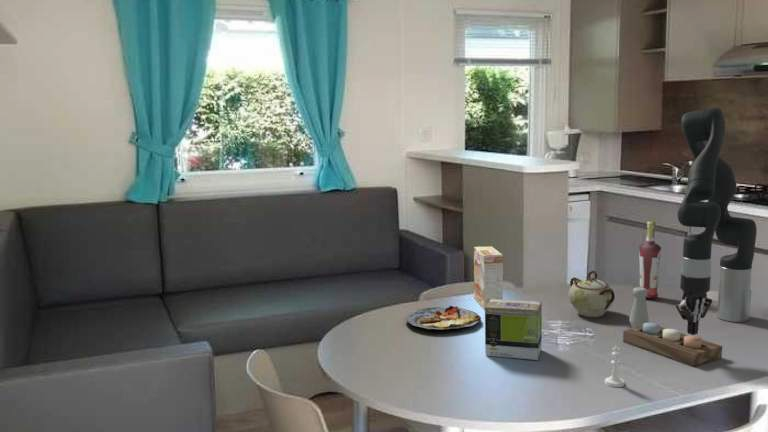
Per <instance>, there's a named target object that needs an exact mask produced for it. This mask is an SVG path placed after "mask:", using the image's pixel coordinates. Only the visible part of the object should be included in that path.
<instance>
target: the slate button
mask: <svg viewBox="0 0 768 432" xmlns="http://www.w3.org/2000/svg"><path fill="white" fill-rule="evenodd" d="M659 327H661V326H660V324H659V323H655V322H649V323H643V333H646V334H649V335H652V336H653V335H657V334H659Z"/></svg>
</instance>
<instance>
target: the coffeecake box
mask: <svg viewBox="0 0 768 432" xmlns="http://www.w3.org/2000/svg"><path fill="white" fill-rule="evenodd" d="M473 276H474V277H473V280H474V281H473V300H475V301H476V302H477V303H478V305H480V307H481V308H482V309H483V311H485V307H486V305H487V304H488V303H489V301H490V300H491V299H504V289H503V288H504V254H503V253H501V252H500V251H498V250H497V249H496V248H495V247H493V246H492V245H490V246H474V247H473Z"/></svg>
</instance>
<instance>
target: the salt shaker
mask: <svg viewBox="0 0 768 432" xmlns="http://www.w3.org/2000/svg"><path fill="white" fill-rule="evenodd" d="M632 295H633V296H634V300H633V303H632V308H631V310H630V314H629V315H630V316H629V319H628V320H629V324H630V326H631V328H635V327H639V326H643V323H650V320H649V313H648V305H647V301H646V300H647V299H645V296H647V290H646V289H645V288H642V287H640V286H637V287H634V288H633V289H632Z"/></svg>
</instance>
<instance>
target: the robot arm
mask: <svg viewBox="0 0 768 432" xmlns="http://www.w3.org/2000/svg"><path fill="white" fill-rule="evenodd" d="M681 129H682V133H683V136H684V139H685V141H686V144H687V146H688V148H689V150H690V153H691V155H692V157H693V159H694V160H693V162H692V164H691V165H690V167H689V171H688V173H687V184H686V186H687V187H686V191H685V194H684V198H683V199H682V201H681V202H680V206H679V207H678V209H677V210H678V211H677V220H678V222H679V223H680V225H682V226H683V227H690V228H691V227H692V228H704V230H703V231H702V232H701V233H697V234H696V233H695V234H690V235H687V236H685V237H684V239H683V245H682V260H681V266H680V267H681V268H680V283H679V285H680V286H679V287H680V289H681V290H682V291H683V294H682V297H681V301H680V303H676V304H675V308H676V310H677V311H678V313H679V315H680V317H681V318H682V320H686V321H687V329H686V331H687V335H688V334H689V335H691V336H696V335H698V334H699V325H700V324H699V323H700V321H701V319H705V317H706V315H707V312H708V311H709V309H710V307H711V305H712V303H713V299H712V298H709V297H708V293H709V292H710V290H711V278H712V246H713V245H712V244H713V239H714V235H716V238H717V240H718V241H719V243H720V244H723V245H726V246H733V247H737V251H736V252H735V253H732V254H726V255H723V256H721V258H720V260H719V277H718V280H719V281H718V293H717V307H716V308H717V309H716V311H717V312H716V313H717V314H716V317H717V318H718V319H720V320H723V321H726V322H733V323H735V322H736V323H737V322H739V323H743V322H748V321H749V319H750V318H751V317H750V315H751V303H752V300H751V299H752V288H751V286H752V285H751V284H752V269H753V262H754V256H755V247H756V241H757V234H758V233H757V232H758V231H757V224H756V222H755V220H754V219H751V218H744V217H736V216H731V214H730V213H729V209H728V208H729V205H730V204H731V201H732V199H733V198H734V196H735V194H736V191H737V188H738V187H737V181H736V177H735V174H734V171H733V169H732V167H731V165H729V163H728V162H726V161H725V160H724V159H723V158H721V157H720V154H721V151H722V146H723V144H724V143H723V142H724V139H725V138H724V137H725V133H726V120H725V115H724V113H723V110H722V109H720V108H718V107H710V108H705V109H704V108H703V109H699V110H693V111H688V112H686V113H684V114H683V115H682V117H681ZM705 142H707V144H705Z"/></svg>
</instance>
